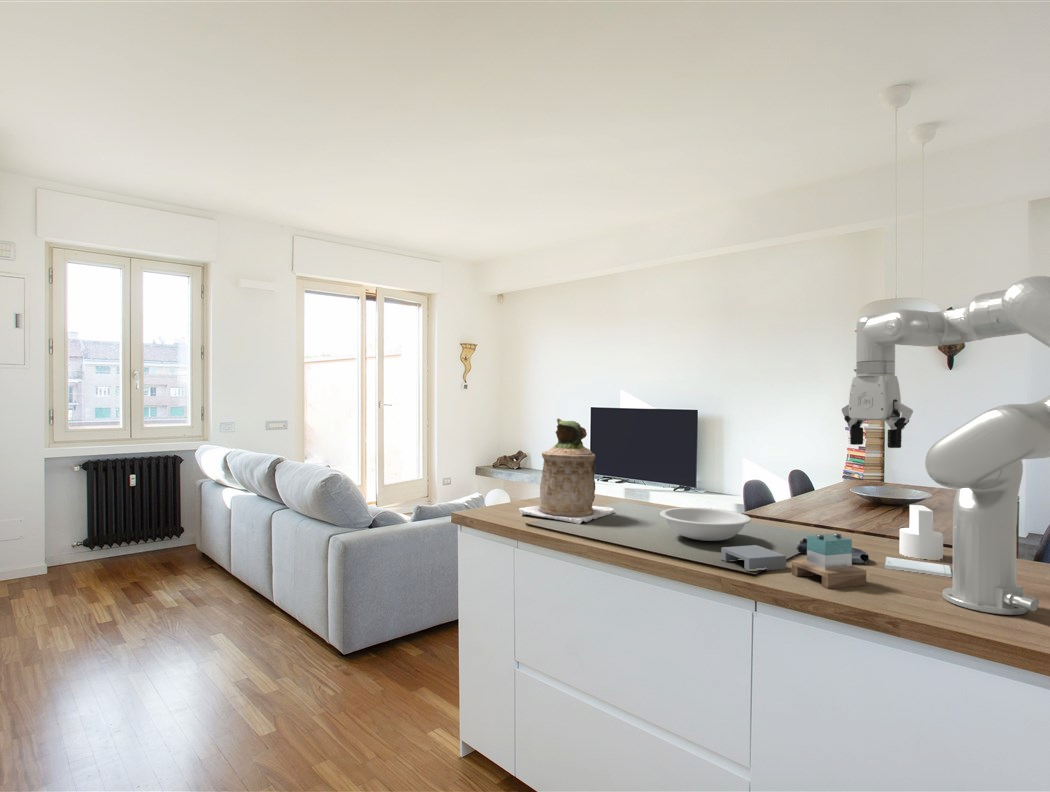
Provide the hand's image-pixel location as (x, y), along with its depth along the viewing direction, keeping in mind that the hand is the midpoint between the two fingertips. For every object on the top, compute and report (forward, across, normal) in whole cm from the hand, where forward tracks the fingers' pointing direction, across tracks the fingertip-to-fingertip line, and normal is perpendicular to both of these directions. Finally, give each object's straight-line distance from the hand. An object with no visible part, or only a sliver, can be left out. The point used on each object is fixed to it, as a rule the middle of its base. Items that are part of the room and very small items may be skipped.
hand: (874, 446), depth 130 cm
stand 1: (+28, -12, -23) cm, 38 cm away
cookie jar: (+29, -79, -43) cm, 94 cm away
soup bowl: (+29, -37, -19) cm, 50 cm away
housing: (+25, +2, -15) cm, 29 cm away
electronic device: (+29, -13, +2) cm, 32 cm away
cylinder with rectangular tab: (+28, -8, +24) cm, 38 cm away
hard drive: (+29, +1, +12) cm, 32 cm away
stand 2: (+28, +2, -15) cm, 32 cm away
